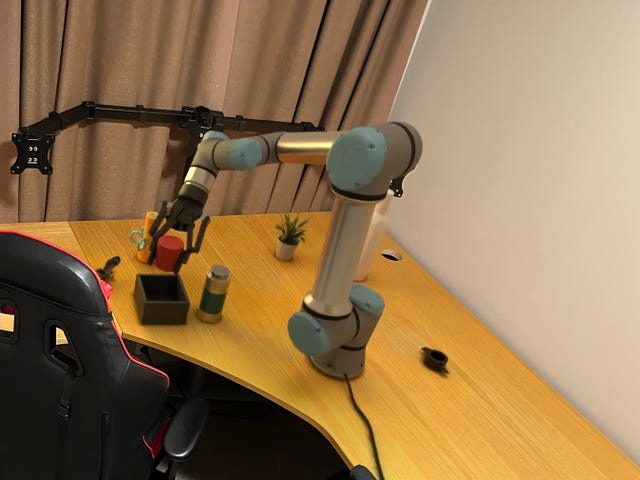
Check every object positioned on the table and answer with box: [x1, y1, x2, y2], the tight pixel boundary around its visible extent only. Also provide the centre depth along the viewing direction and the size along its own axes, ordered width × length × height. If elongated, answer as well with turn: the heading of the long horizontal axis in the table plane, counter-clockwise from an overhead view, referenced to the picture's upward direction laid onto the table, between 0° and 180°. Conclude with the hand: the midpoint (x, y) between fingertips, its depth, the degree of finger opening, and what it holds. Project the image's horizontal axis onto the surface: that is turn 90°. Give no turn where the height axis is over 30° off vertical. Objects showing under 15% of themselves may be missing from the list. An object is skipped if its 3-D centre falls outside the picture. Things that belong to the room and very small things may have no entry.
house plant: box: [272, 208, 315, 262], centre depth 205 cm, size 14×14×16 cm
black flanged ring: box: [420, 346, 451, 375], centre depth 178 cm, size 8×10×3 cm
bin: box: [133, 273, 191, 325], centre depth 176 cm, size 14×13×7 cm
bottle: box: [354, 188, 395, 282], centre depth 199 cm, size 8×8×30 cm
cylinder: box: [129, 211, 160, 264], centre depth 193 cm, size 12×10×15 cm
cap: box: [153, 234, 185, 273], centre depth 167 cm, size 7×7×7 cm
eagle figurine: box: [94, 255, 122, 282], centre depth 184 cm, size 8×7×9 cm
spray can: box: [197, 264, 232, 324], centre depth 175 cm, size 7×7×16 cm
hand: (162, 268), depth 166 cm, fingers closed on cap, 7 cm apart
